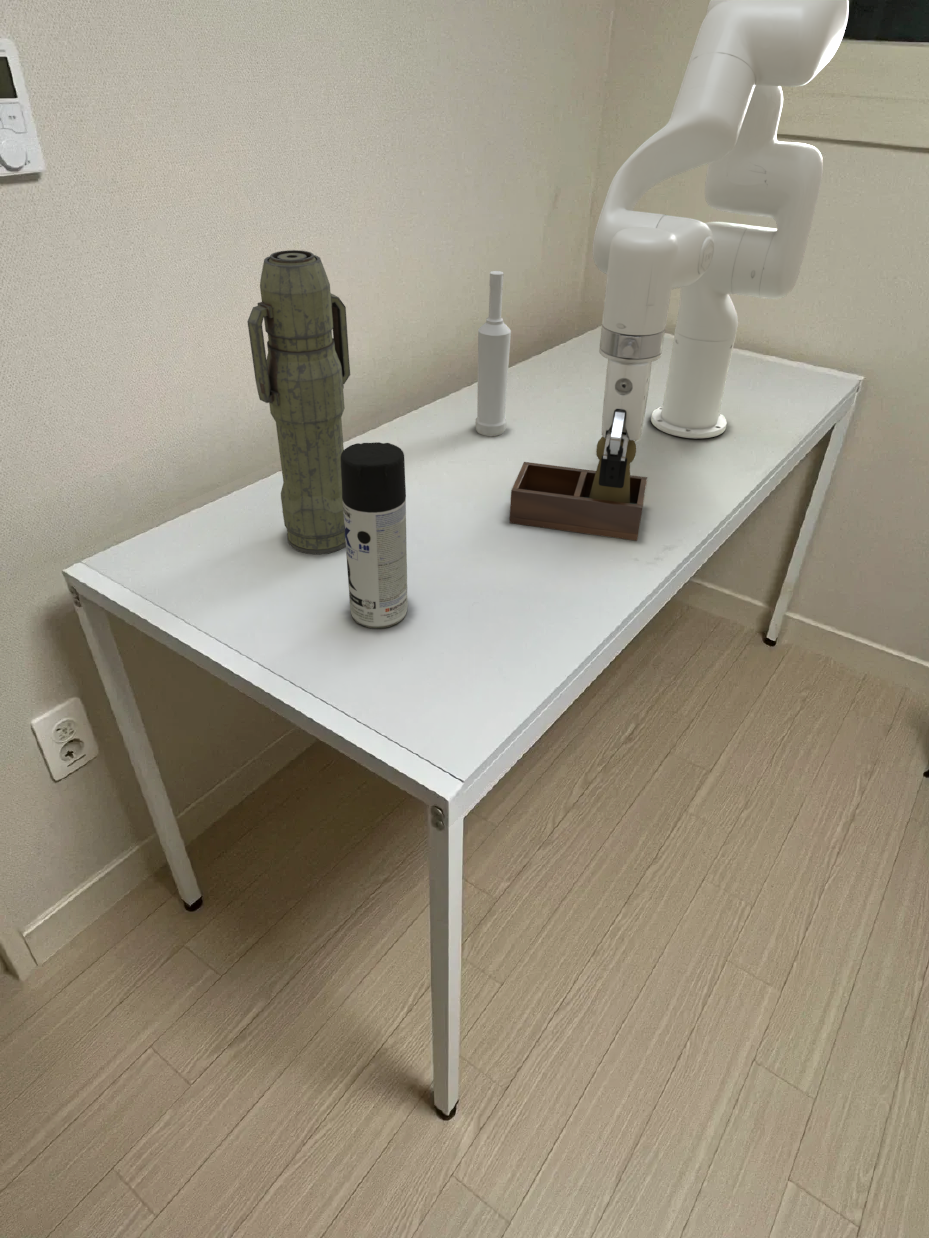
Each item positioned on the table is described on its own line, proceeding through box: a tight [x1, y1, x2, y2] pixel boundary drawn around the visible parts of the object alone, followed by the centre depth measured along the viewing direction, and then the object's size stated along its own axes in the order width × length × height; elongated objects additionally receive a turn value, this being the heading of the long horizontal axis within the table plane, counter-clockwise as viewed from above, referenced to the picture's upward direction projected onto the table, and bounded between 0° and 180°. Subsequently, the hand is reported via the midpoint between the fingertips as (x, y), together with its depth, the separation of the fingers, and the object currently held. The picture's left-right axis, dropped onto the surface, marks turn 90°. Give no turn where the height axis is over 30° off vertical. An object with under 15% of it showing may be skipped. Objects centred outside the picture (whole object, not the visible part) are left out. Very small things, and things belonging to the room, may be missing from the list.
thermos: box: [247, 249, 351, 555], centre depth 99 cm, size 9×12×35 cm
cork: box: [589, 434, 637, 503], centre depth 110 cm, size 6×6×11 cm
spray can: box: [341, 441, 409, 629], centre depth 90 cm, size 7×7×20 cm
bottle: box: [475, 270, 512, 437], centre depth 131 cm, size 5×5×25 cm
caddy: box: [508, 461, 648, 541], centre depth 114 cm, size 9×17×5 cm, turn 76°
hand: (614, 469), depth 110 cm, fingers open, 9 cm apart
